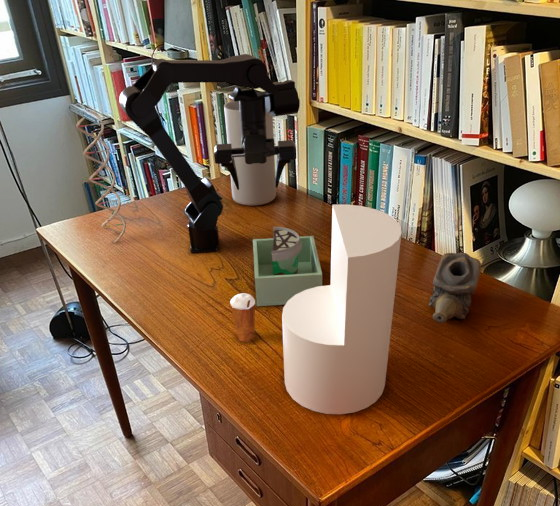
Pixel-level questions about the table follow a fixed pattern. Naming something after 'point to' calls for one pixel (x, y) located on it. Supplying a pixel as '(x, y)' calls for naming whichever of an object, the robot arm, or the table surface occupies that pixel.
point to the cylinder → (345, 317)
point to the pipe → (454, 286)
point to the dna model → (97, 138)
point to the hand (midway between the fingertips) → (257, 188)
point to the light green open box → (284, 286)
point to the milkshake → (244, 316)
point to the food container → (285, 251)
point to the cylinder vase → (251, 177)
